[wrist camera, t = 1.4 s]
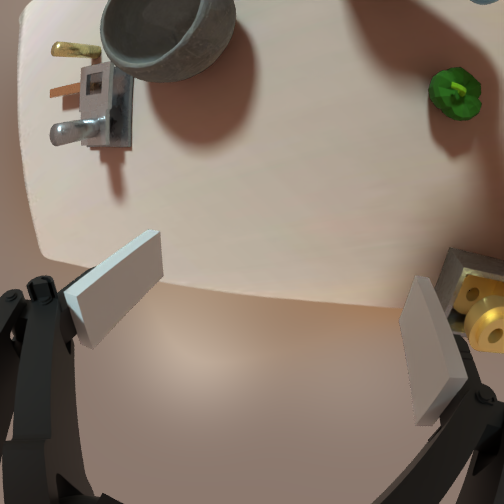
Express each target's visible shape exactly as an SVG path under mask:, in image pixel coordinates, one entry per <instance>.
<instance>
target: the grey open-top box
mask: <svg viewBox="0 0 504 504" xmlns="http://www.w3.org/2000/svg"><path fill="white" fill-rule="evenodd" d="M466 274H470V275H474V276H479V277H484V278H488V279H493V280H497V281H502V282H504V261H503V260H499V259H495V258H491V257H487V256H483V255H479V254H475V253H471V252H467V251H463V250H459V249H455V248H451V247H450V248H449V251H448V254H447V256H446V259H445V262H444V265H443V268H442V271H441V273H440V276H439V279H438V281H437V284H436V286H435V289H434V290H435V292H436V294H437V297H438V299H439V301H440V304H441V306H442V308H443V311H444V313H445V316H446V318H447V320H448V323H449V325H450V328H451V331H452V333H453V334H458V335H461V336H462V337H467V335H466V333H465V331H464V321H465V318H466V314H461V313H459V312H457V311H456V310H455V309H453V308H452V307H453V305H454V302H455V300H456V298H457V296H458V293H459V291H460V289H461V286H462V284H463V281H464V279H465V276H466Z"/></svg>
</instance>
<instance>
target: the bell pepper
mask: <svg viewBox="0 0 504 504" xmlns="http://www.w3.org/2000/svg"><path fill="white" fill-rule="evenodd" d="M428 91H429V97H430V99H431V101H432V102H433V103H434V105H435V106H436V107H437V108H440V109H441V110H442V112H443V113H444V114H445V115H446V116H448V117H450V118H452V119H454V120H458V121H462V120H470V119H471V118H473V117H474V116H476V115H477V114H478V113H479V111H480V108H481V105H482V103H481V102H480V100H479V99H478V98H479V96H480V95H481V84H480V83H479V82H478V81H477V80H476V79H475V78H474V77H473V76H472V75H471V74H469V73H468V72H467V71H466V70H464V69H463V68H461V67H455V68H450V69H447V70H446V71H445V70H442V71H440V72H439V73H437V74H436V75H435V76H434V77H433V78H432V80H431V83H430V86H429V89H428Z"/></svg>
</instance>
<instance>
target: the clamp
mask: <svg viewBox="0 0 504 504" xmlns="http://www.w3.org/2000/svg"><path fill="white" fill-rule="evenodd" d="M471 288H472V289H471ZM470 289H471V290H470ZM469 290H470V291H469ZM468 291H469V292H468ZM453 306H454V308H455V310H456V311H457V312H459V313H461V314H466V318H465V321H464V331H465V333H466V335H467V338H468V340H469V342H470V345H471V346H472V348H473V349H475V350H477V351H483V352H493V353H504V282H502V281H497V280H493V279H488V278H484V277H479V276H474V275H470V274H466V276H465V279H464V281H463V284H462V286H461V289H460V291H459V293H458V296H457V298H456V300H455V302H454V305H453Z"/></svg>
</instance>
